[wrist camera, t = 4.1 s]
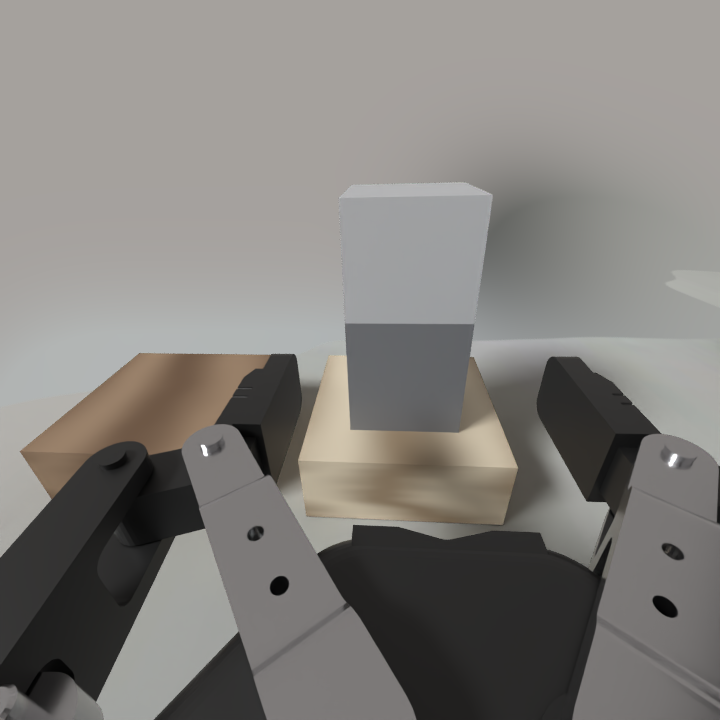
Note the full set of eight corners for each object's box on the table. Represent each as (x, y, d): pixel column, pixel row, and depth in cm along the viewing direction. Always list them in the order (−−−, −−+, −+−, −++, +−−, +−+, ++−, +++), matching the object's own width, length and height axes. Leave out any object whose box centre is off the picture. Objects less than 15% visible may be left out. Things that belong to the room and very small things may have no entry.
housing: (444, 374, 23) (465, 182, 18) (458, 432, 18) (493, 194, 13) (358, 373, 24) (351, 184, 18) (350, 429, 19) (338, 198, 13)
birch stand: (466, 404, 27) (473, 357, 25) (502, 525, 18) (518, 467, 16) (332, 401, 28) (328, 355, 26) (306, 516, 19) (298, 460, 17)
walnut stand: (280, 400, 28) (273, 354, 26) (232, 513, 19) (215, 457, 17) (156, 397, 29) (139, 353, 27) (55, 505, 20) (19, 451, 18)
